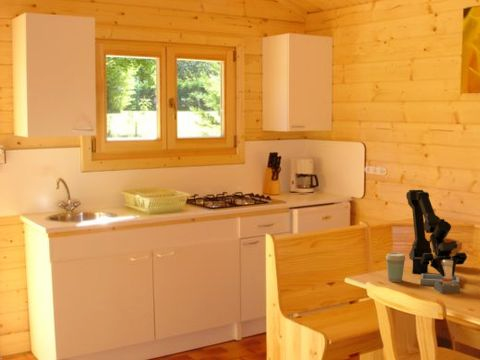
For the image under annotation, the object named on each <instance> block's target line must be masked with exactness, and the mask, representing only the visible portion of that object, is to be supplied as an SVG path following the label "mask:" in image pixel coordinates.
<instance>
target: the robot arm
mask: <svg viewBox="0 0 480 360" xmlns="http://www.w3.org/2000/svg"><path fill="white" fill-rule="evenodd" d="M405 197H406V200H407V203H408V206H410V208H411V211H412V221H413V230H414V232H413V233H414V241H413V242H412V244H411V246H412V247H411V250H410V251H409V253H408V255H409V256H408V257H409V260H411V261H412V270H411V271H412V272H411V274H418V275H419V274H420V275H421V274H428V272H429V265H430V267H432V268H434V270H436V271H437V272H438V273H439V275H442V276H443V277H444V276H445V274H444V271H443V268H442V265H441V261H443V259H450V260H453V266H452V276H455V271H456V270H455V269H456V267H455V265H456V266H457V265H464V264H465V261H467V258H468V256H467V253H466V252H459V253H456V254H455V256H450V254H451V253H452V252H451V251H452V250H454V249H456V248H457V243H456V241H452V242H445V239H444V238H448V235H449V233H450V231H451V229H452V225H451V223H449V222H448V221H446V220H445V219H444V218H440V217H439V216H438V215H436V213H435V210H434V208H433V207H434V206H433V205H432V202H431V200H430V193H429V192H427V191H424V190H423V189H409V190H408V192H406V196H405ZM426 233H427V234H430V236H429V240H428V239H427V237H426ZM431 243H432V246H433V249H432V247H431ZM434 253H435V255H434Z"/></svg>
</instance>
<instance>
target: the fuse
mask: <svg viewBox="0 0 480 360" xmlns="http://www.w3.org/2000/svg"><path fill="white" fill-rule="evenodd" d="M452 266H453V260H450V259H443V271H444V274H445V276H444V277H443V279H442V280H443V283H442V285H443V286H448V285H452Z"/></svg>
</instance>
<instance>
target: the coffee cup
mask: <svg viewBox="0 0 480 360" xmlns="http://www.w3.org/2000/svg"><path fill="white" fill-rule="evenodd" d="M385 259H386V268H387V278H388V279H387V280H388V281H389V282H391V283H402V282H403V274H404V270H405V269H404V268H405V262H406V261H405V260H406V256H405V254H404V253H400V252H388V253H386V256H385Z"/></svg>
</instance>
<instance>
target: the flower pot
mask: <svg viewBox="0 0 480 360" xmlns="http://www.w3.org/2000/svg"><path fill="white" fill-rule="evenodd" d="M444 239H445V242H452V241H456V243H457V248H456V249H454V250H452V251H451V252H452V253H451V254H450V256H455V254H456V253H460V251H462V250H463V249H462V248H463V241H462V240H460V239H455V238H448V237H446V238H444ZM430 248H431V250H433V246H432V243H431V242H430ZM433 255H435V253H433ZM441 265H442V268H443V261H441ZM456 266H457V265H455V268H456Z"/></svg>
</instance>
